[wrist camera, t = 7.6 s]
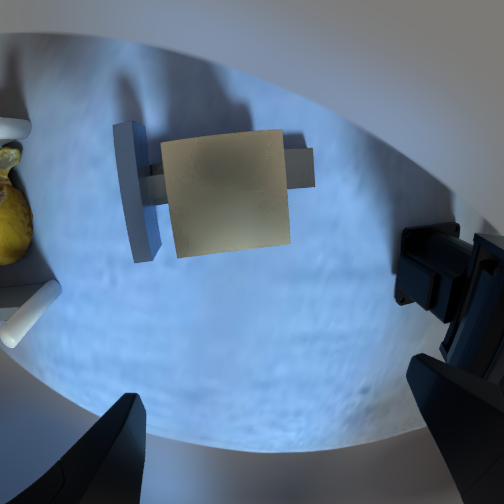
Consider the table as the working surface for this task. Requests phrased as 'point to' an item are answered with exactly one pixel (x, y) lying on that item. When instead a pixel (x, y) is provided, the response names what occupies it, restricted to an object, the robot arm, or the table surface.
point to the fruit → (12, 212)
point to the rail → (295, 164)
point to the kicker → (204, 191)
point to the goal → (25, 296)
